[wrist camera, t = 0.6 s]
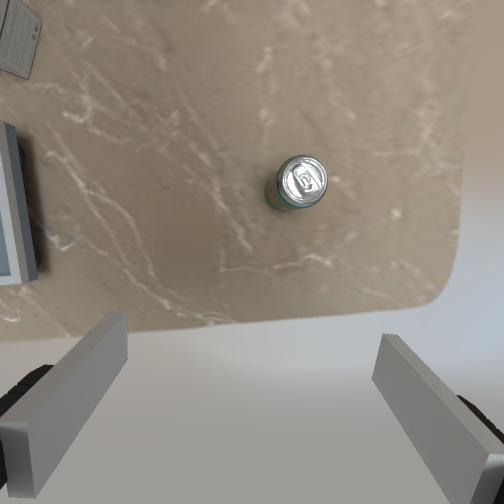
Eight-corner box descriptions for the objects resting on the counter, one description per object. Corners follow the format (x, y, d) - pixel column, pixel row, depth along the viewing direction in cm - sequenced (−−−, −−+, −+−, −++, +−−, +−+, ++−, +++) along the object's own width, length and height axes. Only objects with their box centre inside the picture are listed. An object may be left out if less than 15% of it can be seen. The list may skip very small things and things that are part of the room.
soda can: (277, 218, 39) (295, 217, 27) (257, 186, 38) (268, 170, 26) (308, 198, 39) (341, 189, 27) (289, 166, 38) (314, 141, 26)
